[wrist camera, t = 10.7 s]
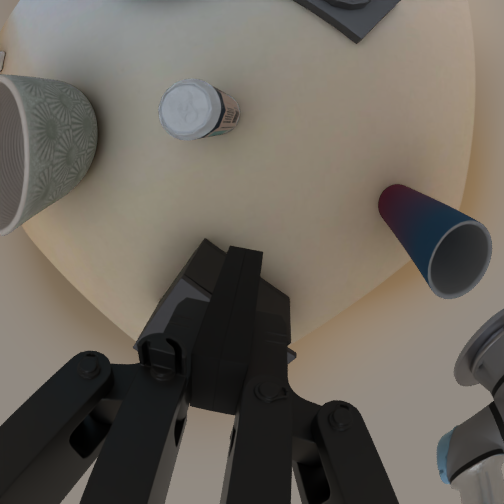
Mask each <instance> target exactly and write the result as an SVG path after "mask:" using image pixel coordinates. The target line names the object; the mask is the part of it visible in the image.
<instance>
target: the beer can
mask: <svg viewBox="0 0 504 504" xmlns="http://www.w3.org/2000/svg"><path fill="white" fill-rule="evenodd" d="M158 113H159V119H160V122H161V124H162V126H163V128H164V129H165V130H166V132H167V133H168V134H170V135H171V136H173V137H175V138H177V139H180V140H195V139H200V138H205V137H210V136H215V135H221V134H225V133H227V132H229V131H230V130H232V129H233V128H234V127H235V126H236V124H237V123H238V120H239V118H240V109H239V105H238V103H237V102H236V100H235V99H234V98H232V97H231V96H229V95H227V94H225V93H224V92H222V91H220V90H218V89H217V88H215V87H213V86H211V85H210V84H208V83H207V82H205V81H203V80H200V79H184V80H181V81H178V82H176V83H175V84H173V85H172V86H171V87H170V88H168V89H167V90H166V92H165V93H164V95H163V96H162V98H161V101H160V104H159V109H158Z"/></svg>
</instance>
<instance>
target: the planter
mask: <svg viewBox="0 0 504 504" xmlns="http://www.w3.org/2000/svg"><path fill="white" fill-rule="evenodd" d="M96 145H97V121H96V117H95V113H94V110H93V108H92V105H91V104H90V102H89V100H88V99H87V98H86V96H85V95H84V94H83V93H82V92H81V91H79V90H78V89H77V88H75V87H74V86H72V85H70V84H68V83H65V82H62V81H57V80H51V79H43V78H36V77H27V76H16V75H3V74H0V236H5V235H7V234H9V233H11V232H12V231H13V230H14V229H16V228H17V227H19V226H20V225H22V224H23V223H24V222H26V221H27V220H29V219H30V218H31V217H33V216H34V215H36V214H37V213H39V212H40V211H42V210H43V209H45V208H46V207H48V206H49V205H51V204H53V203H54V202H56V201H57V200H59V199H61V198H62V197H64V196H65V195H66V194H68V193H69V192H70V191H71V190H72V189H73V188H74V187H75V186H76V185H77V184H78V183H79V182H80V181H81V180H82V178H83V177H84V176H85V174H86V172H87V171H88V169H89V167H90V165H91V163H92V160H93V158H94V154H95V150H96Z"/></svg>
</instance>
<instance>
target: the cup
mask: <svg viewBox="0 0 504 504" xmlns="http://www.w3.org/2000/svg"><path fill="white" fill-rule="evenodd" d="M378 208H379V212H380V215H381V216H382V218H383V219H384V221H385V222H386V223H387V225H388V226H389V227H390V229H391V230H392V231H393V233H394V234H395V236H396V237H397V238H398V240H399V241H400V243H401V244H402V245H403V247H404V248H405V250H406V251H407V253H408V254H409V256H410V257H411V259H412V260H413V262H414V263H415V265H416V266H417V268H418V269H419V271H420V272H421V274H422V275H423V277H424V278H425V280H426V282H427V283H428V285H429V287H430V288H431V290H432V291H433V292H434V293H435V294H436V295H437V296H439V297H441V298H444V299H453V298H457V297H460V296H463V295H464V294H466V293H468V292H469V291H470V290H472V289H473V288H474V287H475V286H476V285H477V284H478V283H479V281H480V280H481V279H482V277H483V276H484V274H485V272H486V270H487V268H488V265H489V263H490V259H491V254H492V241H491V237H490V234H489V232H488V230H487V228H486V227H485V226H484V225H483V224H481V223H480V222H478V221H476V220H475V219H473V218H471V217H469V216H467V215H465V214H463V213H461V212H459V211H457V210H456V209H454V208H452V207H450V206H448V205H445V204H443V203H441V202H439V201H437V200H435V199H433V198H431V197H429V196H426V195H424V194H422V193H420V192H418V191H415V190H413V189H411V188H408V187H406V186H404V185H400V184H395V185H392V186H389V187H388V188H386V189H385V190H384V191H383V193H382V194H381V196H380V199H379V204H378Z"/></svg>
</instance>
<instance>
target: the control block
mask: <svg viewBox="0 0 504 504" xmlns="http://www.w3.org/2000/svg"><path fill="white" fill-rule="evenodd" d="M294 1H295V2H297V3H299V4H300V5H302V6H304V7H305V8H307V9H309V10H310V11H312V12H313V13H315V14H316V15H318V16H319V17H321V18H322V19H324V20H325V21H327V22H328V23H330V24H331V25H332V26H334V27H335V28H337V29H338V30H339V31H341V32H342V33H343V34H345V35H346V36H347V37H348V38H350V39H351V40H352V41H354V42H355V43H356V44H357V43H358V42H359V41H360V40H361V39H362V38H363V37H364V36H365V35H366V34H367V33H368V32H369V31H370V30H371V29H372V28H373V27H374V26H375V25H376V24H377V23H378V22H379V21H380V20H381V19H382V18H383V17H384V16H385V15H386V14H387V13H388V12H389V11H390V10H391V9H392V8H393V7H394V6H395V5H396V4H397V3H398V2H400V1H401V0H294Z"/></svg>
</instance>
